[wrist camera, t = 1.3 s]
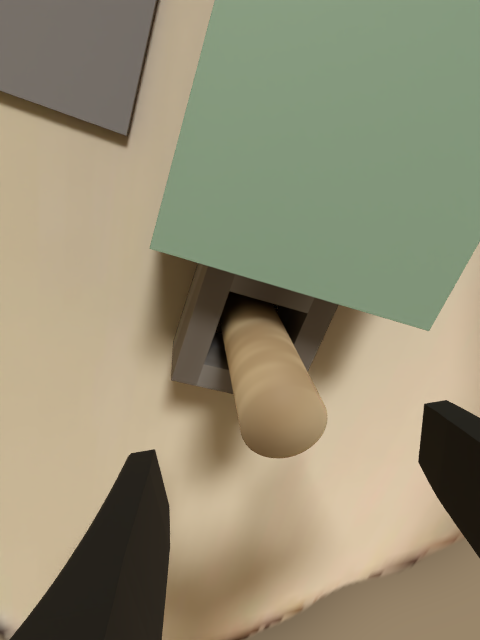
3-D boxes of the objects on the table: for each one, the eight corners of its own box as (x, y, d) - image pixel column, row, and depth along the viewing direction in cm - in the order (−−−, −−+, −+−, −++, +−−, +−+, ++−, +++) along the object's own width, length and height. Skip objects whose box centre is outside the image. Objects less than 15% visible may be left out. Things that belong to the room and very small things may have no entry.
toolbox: (554, -138, 15) (720, -260, 10) (312, 376, 22) (345, 437, 18) (299, -313, 12) (367, -579, 8) (129, 331, 20) (113, 389, 15)
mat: (174, -78, 14) (174, -84, 14) (127, 135, 16) (126, 135, 16) (-18, -173, 12) (-24, -182, 12) (-38, 76, 15) (-43, 75, 15)
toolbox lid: (735, -271, 10) (947, -426, 7) (414, 319, 15) (463, 359, 13) (374, -606, 7) (486, -1037, 5) (151, 240, 13) (143, 268, 10)
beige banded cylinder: (277, 289, 20) (341, 397, 12) (259, 335, 21) (307, 464, 13) (227, 275, 19) (258, 377, 11) (210, 323, 20) (228, 450, 12)
